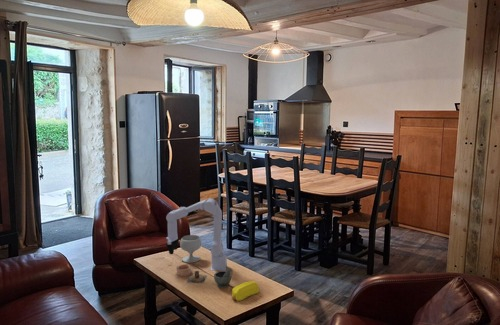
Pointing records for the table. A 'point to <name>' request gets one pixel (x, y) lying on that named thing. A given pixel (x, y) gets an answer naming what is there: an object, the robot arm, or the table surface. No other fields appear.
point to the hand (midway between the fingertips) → (173, 251)
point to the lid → (196, 277)
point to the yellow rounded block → (244, 290)
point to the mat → (196, 282)
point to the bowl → (183, 270)
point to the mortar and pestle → (223, 278)
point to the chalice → (190, 247)
